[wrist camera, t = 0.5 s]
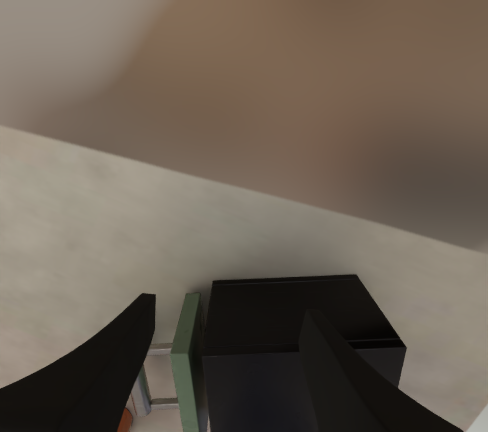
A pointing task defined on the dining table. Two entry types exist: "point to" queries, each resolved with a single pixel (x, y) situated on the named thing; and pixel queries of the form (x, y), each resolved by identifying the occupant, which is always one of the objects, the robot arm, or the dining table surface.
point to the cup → (125, 422)
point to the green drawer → (180, 371)
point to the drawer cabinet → (283, 347)
